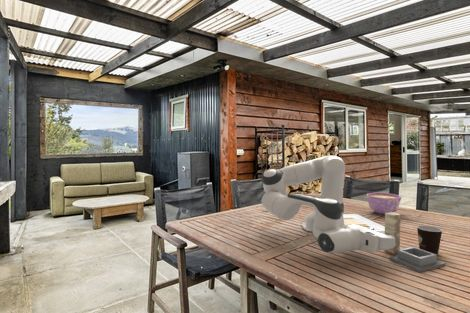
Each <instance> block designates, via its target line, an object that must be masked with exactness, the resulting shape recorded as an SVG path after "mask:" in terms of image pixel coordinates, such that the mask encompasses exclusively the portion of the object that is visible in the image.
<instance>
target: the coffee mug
mask: <svg viewBox="0 0 470 313" xmlns="http://www.w3.org/2000/svg"><path fill="white" fill-rule="evenodd" d="M416 229H417V240H418V248H419V249H422V250H425V251H427V252H430V253H433V254H436V255H437V256H438V255H439V250H440V244H441V239H442V234H443V229H441V228H440V227H436V226H432V225H425V224H424V225H417V226H416Z"/></svg>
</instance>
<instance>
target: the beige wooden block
mask: <svg viewBox="0 0 470 313" xmlns="http://www.w3.org/2000/svg"><path fill="white" fill-rule="evenodd" d="M384 234H386V235H388V234H392V235H394V236H395V237H394V238H395V247H394V248H391V249H387V250H384V251H385V252H388V253H390V254H398V250H400V249H401V214H400V213H397V212H390V213H385V214H384Z"/></svg>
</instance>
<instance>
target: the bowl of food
mask: <svg viewBox="0 0 470 313" xmlns="http://www.w3.org/2000/svg"><path fill="white" fill-rule="evenodd" d="M366 199H367V203H368V206H369V208H370V209H371V210H372V211H373V212H375V213H377V214H378V215H385V213H390V212H393V213H396V211H397V210H398V209H399V206H400V204H401V199H402V196H401V195H398V194H394V193H390V192H389V193H387V192H369V193H366Z"/></svg>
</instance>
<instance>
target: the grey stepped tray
mask: <svg viewBox="0 0 470 313" xmlns="http://www.w3.org/2000/svg"><path fill="white" fill-rule="evenodd" d="M437 258H438V255H436V254H433V253H430V252H427V251H425V250H422V249H419V247H415V246H410V247H405V248H400V250H398V253H396V255H393V256H389V259H388V260H389V261H391V262H395V263H396V264H399V265H401V266H404V267H406V268H408V269H410V270H412V271H415V272H417V273H423V272H426V271H431V270H434V269H438V268H439V269H440V268H442V267H445V266H446V263H445V262H443V261H441V260H438V259H437Z"/></svg>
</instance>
